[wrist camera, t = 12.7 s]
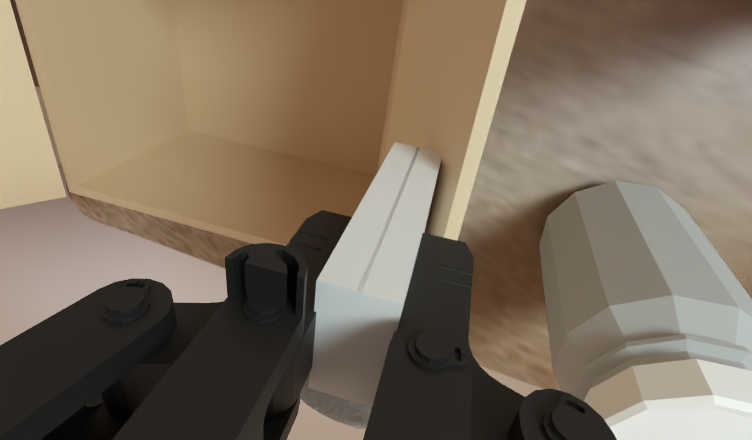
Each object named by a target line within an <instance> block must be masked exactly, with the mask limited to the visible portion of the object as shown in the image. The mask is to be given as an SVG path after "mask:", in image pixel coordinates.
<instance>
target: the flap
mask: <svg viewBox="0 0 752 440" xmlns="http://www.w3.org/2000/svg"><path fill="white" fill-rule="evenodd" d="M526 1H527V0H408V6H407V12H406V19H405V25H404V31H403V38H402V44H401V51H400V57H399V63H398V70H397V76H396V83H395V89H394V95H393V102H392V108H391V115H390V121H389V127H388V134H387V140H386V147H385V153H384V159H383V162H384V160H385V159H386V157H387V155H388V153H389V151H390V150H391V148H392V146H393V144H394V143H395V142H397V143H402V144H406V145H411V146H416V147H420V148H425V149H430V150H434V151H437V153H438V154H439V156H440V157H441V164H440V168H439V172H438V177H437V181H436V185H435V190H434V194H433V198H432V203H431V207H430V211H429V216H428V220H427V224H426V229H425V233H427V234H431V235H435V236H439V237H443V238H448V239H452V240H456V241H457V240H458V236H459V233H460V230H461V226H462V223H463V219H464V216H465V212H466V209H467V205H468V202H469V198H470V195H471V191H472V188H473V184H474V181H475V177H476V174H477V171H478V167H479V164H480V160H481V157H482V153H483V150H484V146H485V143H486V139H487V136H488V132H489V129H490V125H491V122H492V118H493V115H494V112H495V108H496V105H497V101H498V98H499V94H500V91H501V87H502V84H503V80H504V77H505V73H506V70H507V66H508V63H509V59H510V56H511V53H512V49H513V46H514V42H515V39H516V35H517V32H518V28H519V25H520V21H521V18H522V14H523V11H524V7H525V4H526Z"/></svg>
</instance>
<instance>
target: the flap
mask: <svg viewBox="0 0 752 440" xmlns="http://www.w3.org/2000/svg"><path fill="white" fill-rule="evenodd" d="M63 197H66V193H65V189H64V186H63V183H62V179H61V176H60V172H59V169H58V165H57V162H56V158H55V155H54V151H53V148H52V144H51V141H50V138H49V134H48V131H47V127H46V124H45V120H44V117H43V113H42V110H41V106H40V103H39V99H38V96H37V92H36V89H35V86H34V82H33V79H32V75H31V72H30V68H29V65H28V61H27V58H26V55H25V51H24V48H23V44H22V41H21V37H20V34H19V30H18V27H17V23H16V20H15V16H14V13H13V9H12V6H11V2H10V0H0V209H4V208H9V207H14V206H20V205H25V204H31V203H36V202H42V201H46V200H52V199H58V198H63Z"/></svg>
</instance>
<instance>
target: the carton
mask: <svg viewBox="0 0 752 440" xmlns="http://www.w3.org/2000/svg"><path fill="white" fill-rule="evenodd" d="M15 1H16V5H17V8H18V12H19V16H20V19H21V23H22V26H23V30H24V33H25V37H26V40H27V44H28V47H29V51H30V54H31V58H32V61H33V65H34V69H35V72H36V76H37V79H38V83H39V86H40V90H41V93H42V97H43V100H44V104H45V107H46V111H47V115H48V118H49V122H50V125H51V129H52V132H53V136H54V139H55V143H56V146H57V150H58V153H59V157H60V161H61V164H62V168H63V171H64V175H65V178H66V182H67V185H68V189H69V192H70V193H74V194H78V195H81V196H85V197H88V198H92V199H95V200H99V201H102V202H106V203H110V204H113V205H117V206H120V207H124V208H127V209H131V210H134V211H138V212H141V213H145V214H149V215H152V216H156V217H159V218H163V219H166V220H170V221H173V222H177V223H181V224H184V225H188V226H191V227H195V228H198V229H202V230H205V231H209V232H213V233H216V234H220V235H223V236H227V237H230V238H234V239H237V240H241V241H245V242H248V243H252V244H259V243H272V244H280V245H284V246H286V245H287V244H289V241H290V240H291V238H292V237H293V236H294V234H295V233H297V230H298V229H299V228H300V226H301V225H302V224H303V222H304V221H305V220H306V218H308V217H310V216H312V215H314V214H316V213H318V212H319V211H321V210H325V211H329V212H333V213H337V214H341V215H345V216H350V217H353V215H354V213H355V212H356V210H357V208H358V206H359V204H360V203H361V201H362V199H363V197H364V196H365V194H366V192H367V190H368V189H369V187H370V185H371V183H372V182H373V180H374V178H375V176H376V174H377V173H378V171H379V169H380V167H381V166H382V164H383V159H384V153H385V147H386V140H387V134H388V127H389V121H390V115H391V108H392V102H393V95H394V89H395V83H396V76H397V70H398V63H399V57H400V51H401V44H402V38H403V31H404V25H405V19H406V12H407V6H408V0H15Z"/></svg>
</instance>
